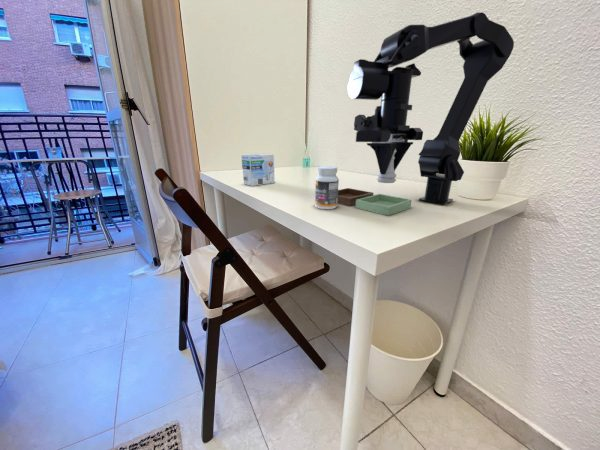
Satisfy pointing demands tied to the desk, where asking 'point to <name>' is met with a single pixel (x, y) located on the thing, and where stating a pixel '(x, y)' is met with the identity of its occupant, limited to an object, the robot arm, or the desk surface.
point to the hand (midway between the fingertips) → (387, 173)
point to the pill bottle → (326, 188)
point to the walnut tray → (351, 196)
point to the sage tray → (383, 204)
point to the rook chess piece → (388, 173)
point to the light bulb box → (258, 169)
